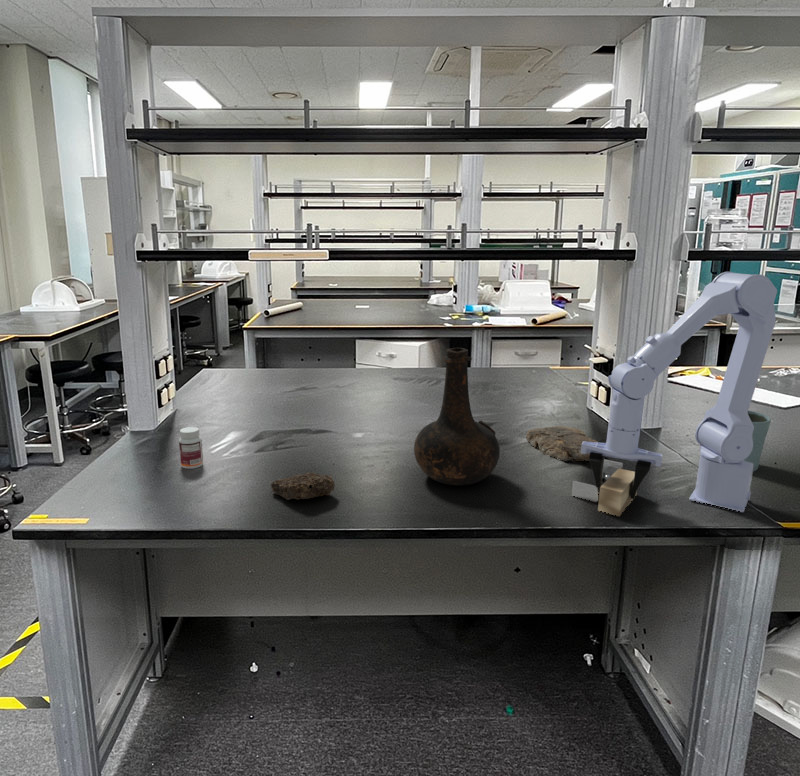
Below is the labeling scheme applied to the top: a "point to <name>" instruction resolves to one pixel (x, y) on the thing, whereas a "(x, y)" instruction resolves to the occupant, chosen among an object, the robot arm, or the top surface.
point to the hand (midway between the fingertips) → (615, 493)
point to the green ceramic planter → (758, 436)
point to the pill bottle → (190, 448)
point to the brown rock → (303, 486)
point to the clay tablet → (560, 442)
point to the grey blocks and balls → (590, 490)
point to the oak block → (616, 492)
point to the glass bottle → (456, 433)
